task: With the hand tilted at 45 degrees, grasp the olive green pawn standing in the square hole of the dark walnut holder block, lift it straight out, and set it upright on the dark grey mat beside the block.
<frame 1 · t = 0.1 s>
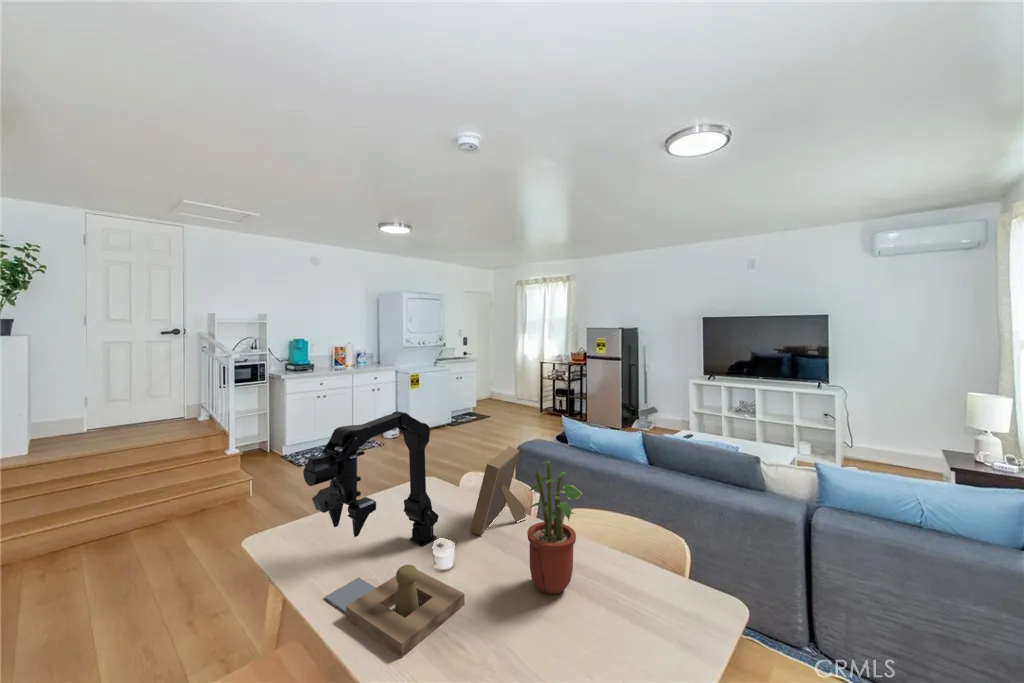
hand: (345, 531, 109), 15 cm above the table, tool pointing down, fingers open, 9 cm apart
photo frame: (501, 524, 145), on the table
olive green pawn: (406, 612, 99), resting in walnut holder block
walnut holder block: (406, 611, 99), on the table
grey mat: (353, 595, 105), on the table
potted plant: (549, 582, 112), on the table
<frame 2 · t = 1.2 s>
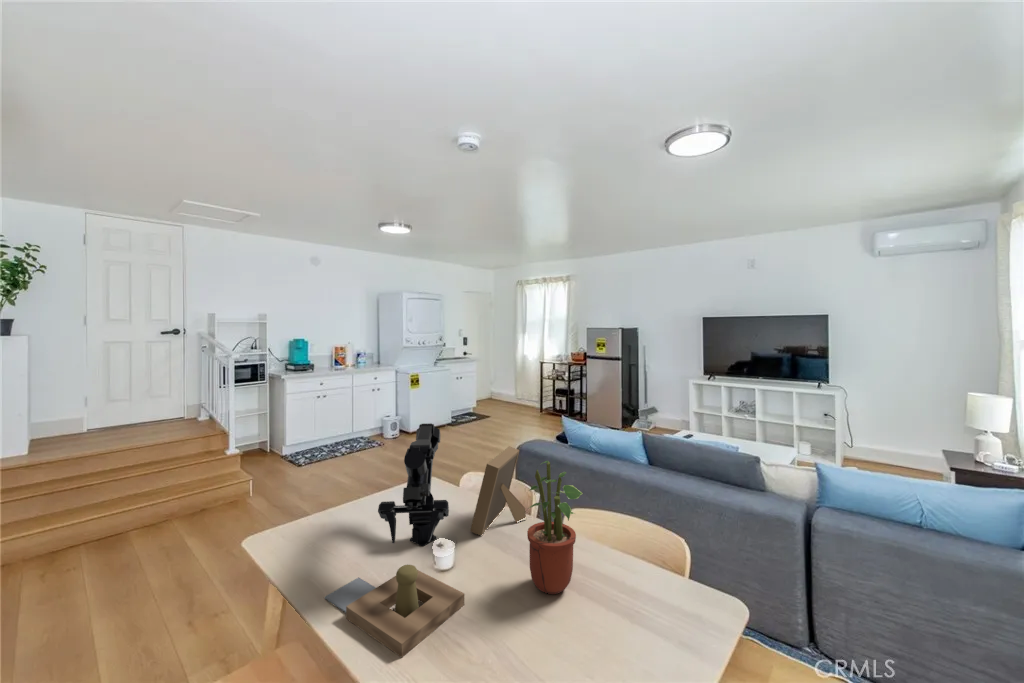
hand: (411, 542, 106), 13 cm above the table, tool tilted 45°, fingers open, 9 cm apart
nothing on the table moved.
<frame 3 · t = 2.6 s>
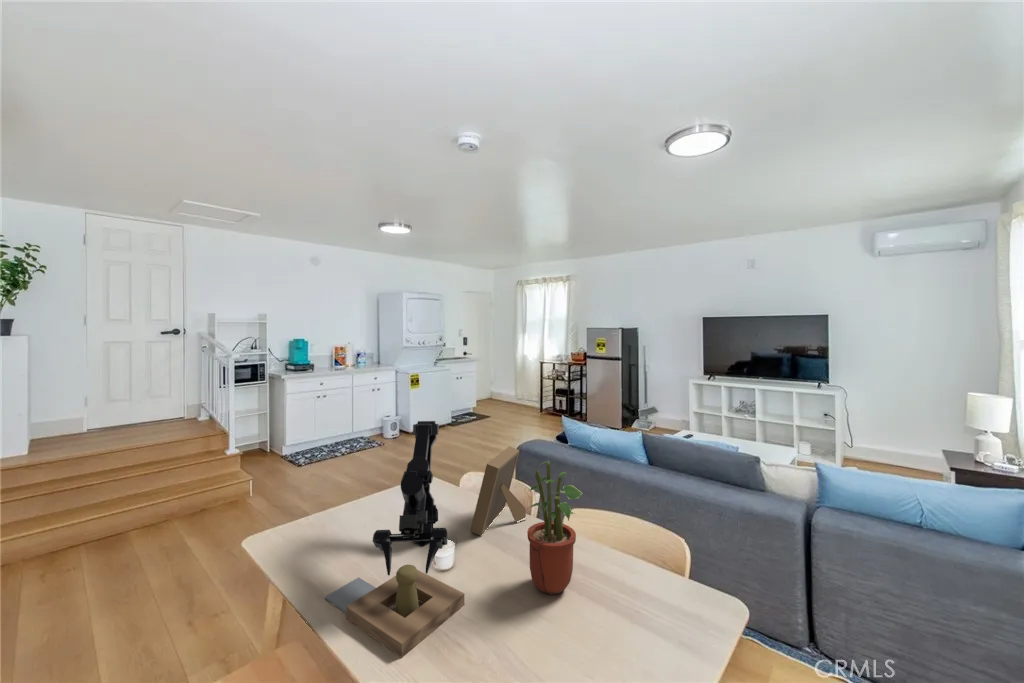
hand: (407, 574, 100), 9 cm above the table, tool tilted 45°, fingers open, 9 cm apart
nothing on the table moved.
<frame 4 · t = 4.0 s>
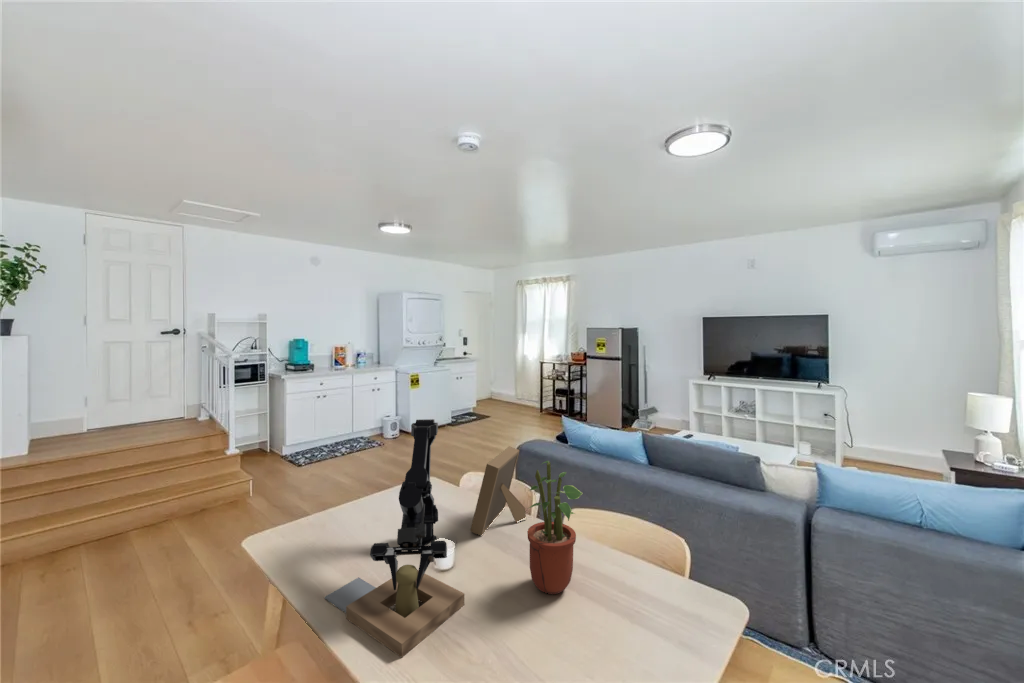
hand: (405, 589, 98), 7 cm above the table, tool tilted 45°, fingers closed on olive green pawn, 5 cm apart
olive green pawn: (406, 612, 99), resting in walnut holder block, touching gripper
everything else where it was.
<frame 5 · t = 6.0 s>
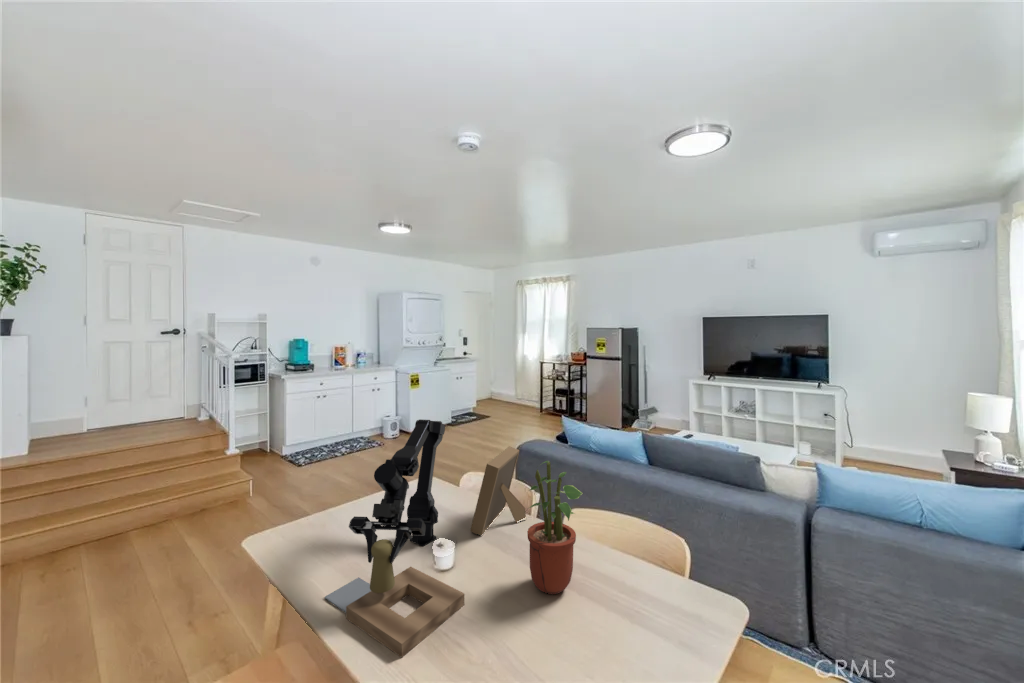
hand: (380, 562, 99), 12 cm above the table, tool tilted 45°, fingers closed on olive green pawn, 5 cm apart
olive green pawn: (382, 585, 101), point 5 cm above the table, touching gripper
everything else where it was.
when the fingers open (8 cm above the table, at t = 8.0 s): olive green pawn drops 1 cm, resting on grey mat.
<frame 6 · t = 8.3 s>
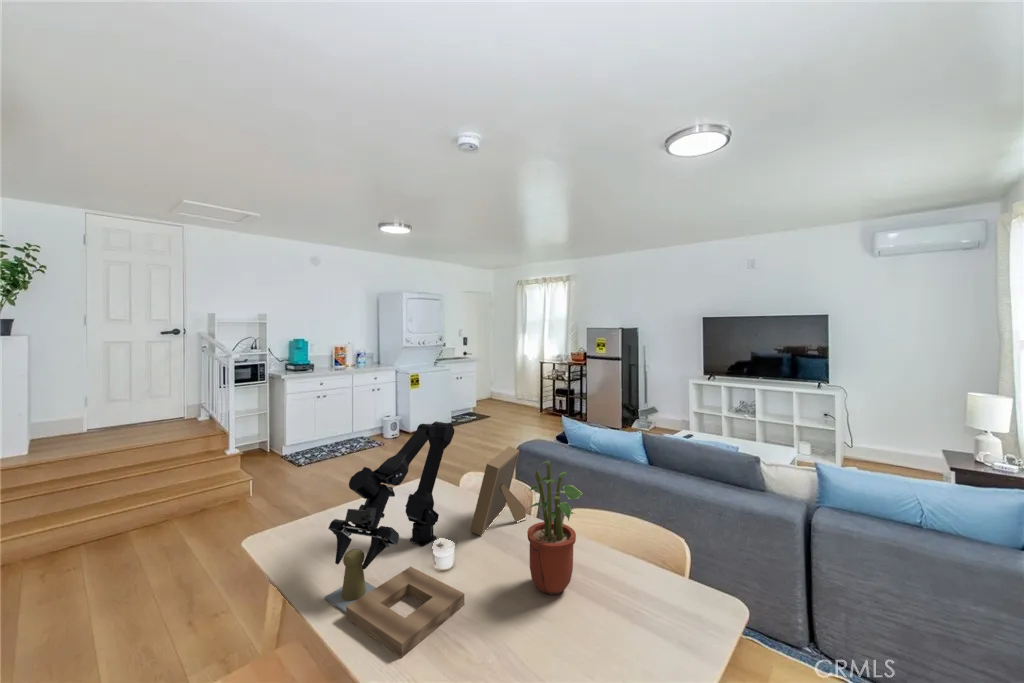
hand: (349, 566, 103), 9 cm above the table, tool tilted 45°, fingers open, 8 cm apart
olive green pawn: (354, 594, 105), resting on grey mat
everything else where it was.
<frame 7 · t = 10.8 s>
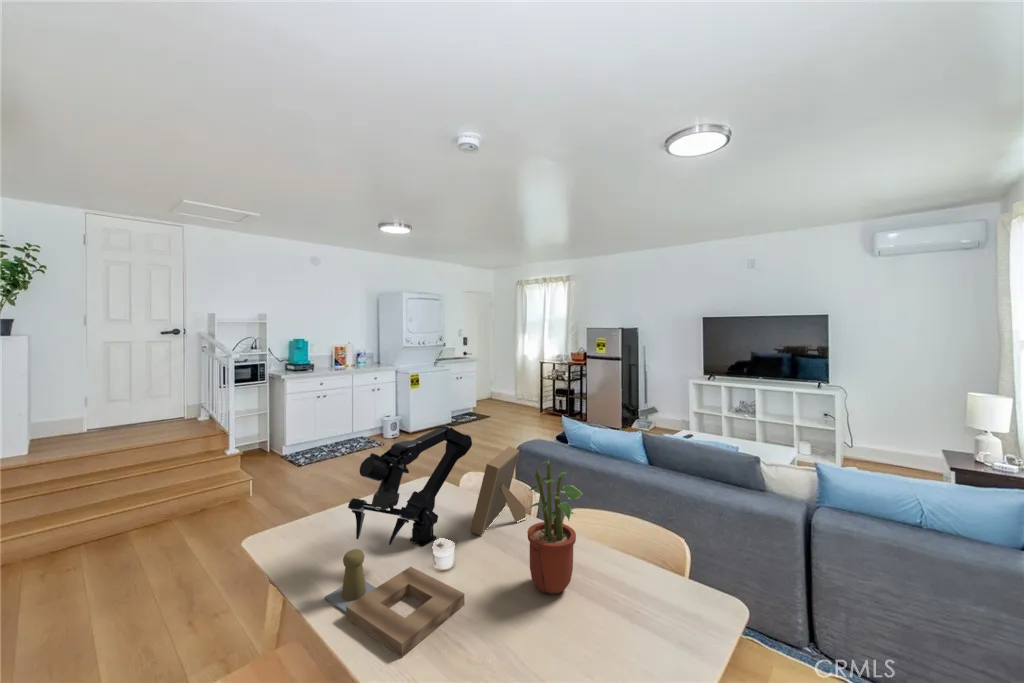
hand: (373, 541, 114), 9 cm above the table, tool tilted 30°, fingers open, 9 cm apart
nothing on the table moved.
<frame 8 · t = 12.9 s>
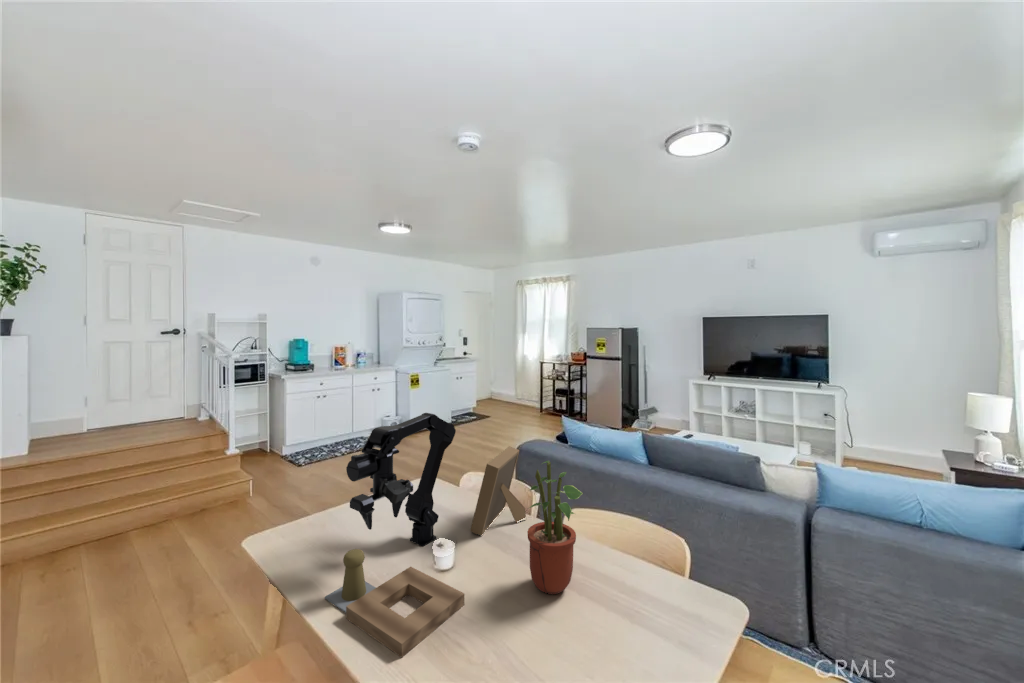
hand: (383, 522, 120), 12 cm above the table, tool pointing down, fingers open, 9 cm apart
nothing on the table moved.
at the end: olive green pawn inside the target area (0.2 cm from its centre), resting on grey mat; olive green pawn tilted 0°; the gripper is holding nothing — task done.
